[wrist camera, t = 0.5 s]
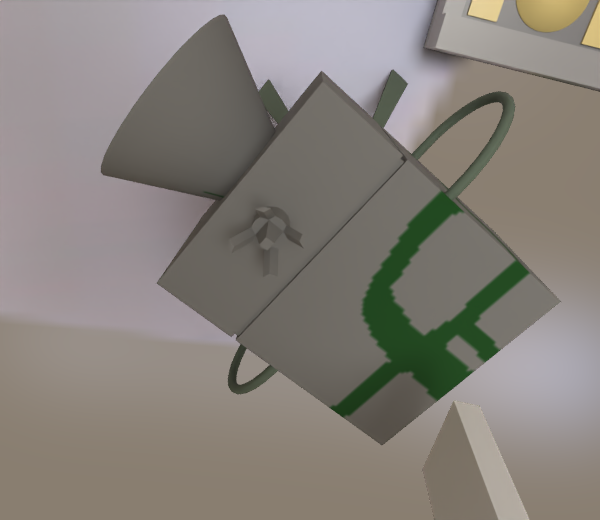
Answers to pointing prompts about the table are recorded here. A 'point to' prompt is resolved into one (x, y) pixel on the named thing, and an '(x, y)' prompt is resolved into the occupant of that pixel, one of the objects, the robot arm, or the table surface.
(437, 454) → the robot arm
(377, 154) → the camera
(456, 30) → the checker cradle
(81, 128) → the table surface
